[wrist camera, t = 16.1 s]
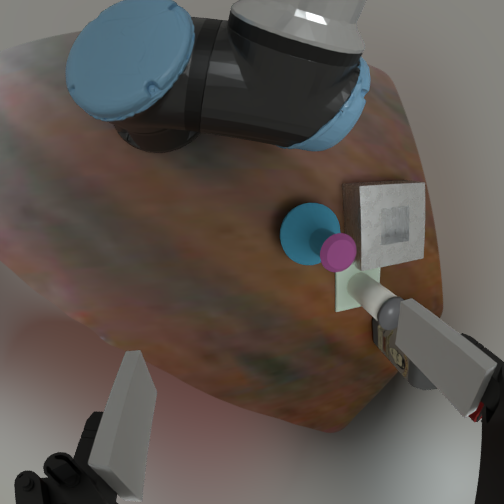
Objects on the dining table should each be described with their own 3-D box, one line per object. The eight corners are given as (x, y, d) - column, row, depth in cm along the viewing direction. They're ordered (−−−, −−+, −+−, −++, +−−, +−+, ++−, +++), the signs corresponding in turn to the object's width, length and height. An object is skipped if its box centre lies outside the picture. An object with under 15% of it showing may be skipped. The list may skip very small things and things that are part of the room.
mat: (334, 264, 48) (336, 265, 48) (378, 256, 49) (380, 257, 49) (335, 310, 51) (336, 312, 50) (376, 300, 52) (378, 301, 51)
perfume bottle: (332, 203, 45) (382, 219, 31) (323, 258, 48) (365, 293, 34) (277, 195, 44) (309, 208, 30) (269, 253, 46) (295, 290, 32)
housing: (342, 183, 45) (359, 186, 39) (404, 180, 46) (424, 182, 40) (345, 259, 48) (361, 271, 43) (404, 248, 50) (423, 258, 44)
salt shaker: (346, 273, 49) (381, 302, 37) (371, 269, 49) (409, 295, 38) (345, 300, 50) (378, 333, 39) (370, 295, 51) (405, 325, 39)
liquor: (406, 295, 53) (510, 375, 24) (406, 331, 56) (493, 414, 27) (370, 311, 52) (468, 410, 24) (371, 346, 55) (453, 445, 26)
